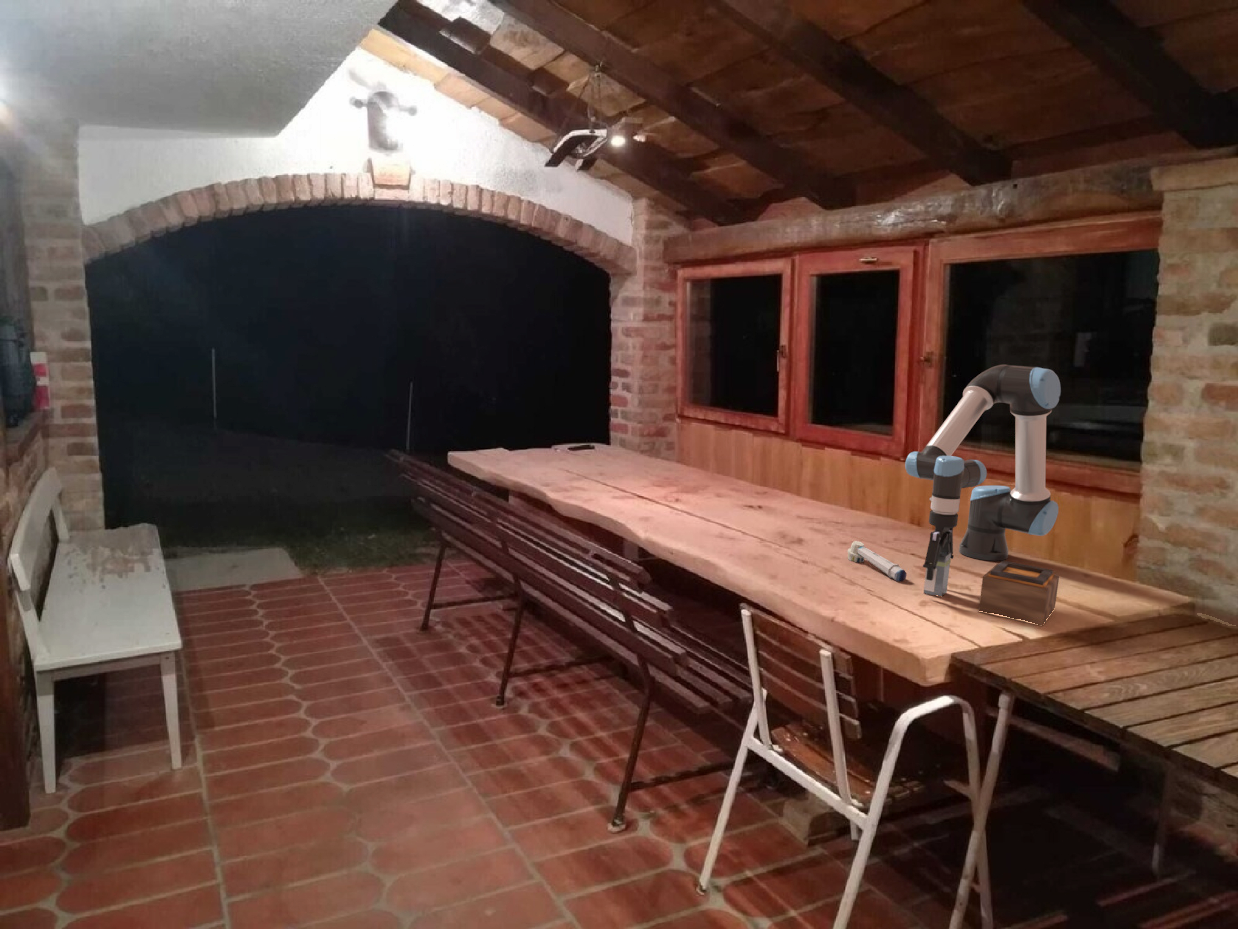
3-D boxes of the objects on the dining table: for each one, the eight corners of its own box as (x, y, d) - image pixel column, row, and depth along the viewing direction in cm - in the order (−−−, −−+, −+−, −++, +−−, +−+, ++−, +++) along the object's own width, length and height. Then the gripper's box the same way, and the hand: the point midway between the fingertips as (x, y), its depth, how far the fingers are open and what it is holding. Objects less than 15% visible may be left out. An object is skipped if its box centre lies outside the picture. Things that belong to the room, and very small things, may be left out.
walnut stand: (993, 597, 258) (998, 558, 256) (1054, 610, 249) (1060, 570, 247) (978, 612, 246) (983, 571, 243) (1042, 626, 237) (1048, 583, 234)
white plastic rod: (895, 570, 268) (846, 536, 290) (891, 590, 270) (842, 556, 292) (909, 569, 270) (860, 535, 292) (905, 589, 272) (856, 555, 294)
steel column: (928, 589, 263) (933, 549, 261) (946, 593, 261) (951, 552, 258) (923, 593, 259) (927, 552, 257) (941, 597, 256) (946, 556, 254)
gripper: (943, 502, 267) (935, 572, 271) (917, 516, 248) (909, 592, 252) (969, 506, 263) (961, 578, 267) (945, 521, 244) (936, 598, 248)
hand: (935, 585), depth 259 cm, fingers open, 12 cm apart
